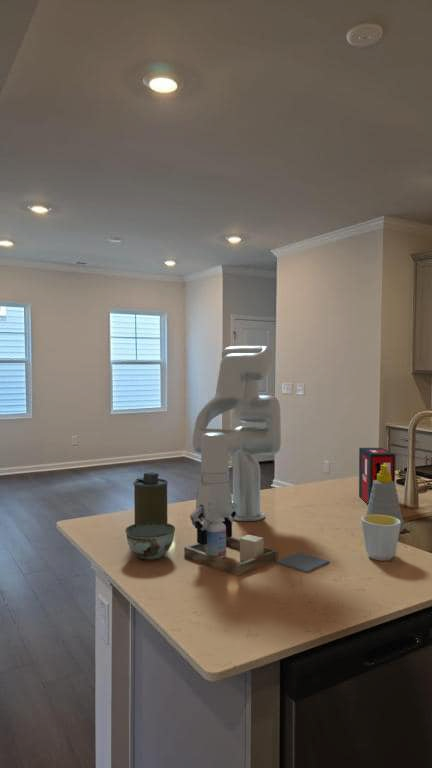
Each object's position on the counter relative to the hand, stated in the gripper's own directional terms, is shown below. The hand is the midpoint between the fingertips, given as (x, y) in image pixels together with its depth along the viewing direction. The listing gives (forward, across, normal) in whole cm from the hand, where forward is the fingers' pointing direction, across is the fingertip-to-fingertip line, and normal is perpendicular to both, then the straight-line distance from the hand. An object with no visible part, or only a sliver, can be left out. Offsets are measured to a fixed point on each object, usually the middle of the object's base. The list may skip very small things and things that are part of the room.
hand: (214, 539), depth 146 cm
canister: (+5, +3, -25) cm, 26 cm away
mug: (+5, -33, +32) cm, 46 cm away
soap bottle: (+4, -57, +20) cm, 61 cm away
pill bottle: (+5, 0, 0) cm, 5 cm away
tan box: (+5, -5, +9) cm, 11 cm away
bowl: (+5, +13, -12) cm, 18 cm away
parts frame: (+5, -2, +4) cm, 6 cm away
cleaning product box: (+4, -85, +2) cm, 85 cm away
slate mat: (+5, -13, +20) cm, 24 cm away
